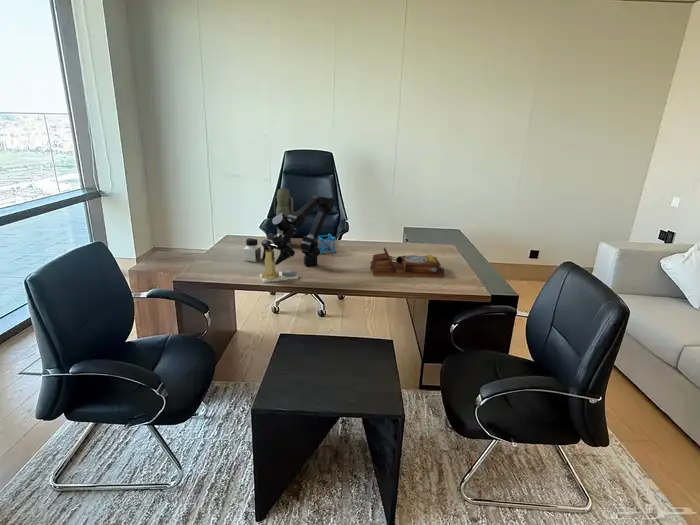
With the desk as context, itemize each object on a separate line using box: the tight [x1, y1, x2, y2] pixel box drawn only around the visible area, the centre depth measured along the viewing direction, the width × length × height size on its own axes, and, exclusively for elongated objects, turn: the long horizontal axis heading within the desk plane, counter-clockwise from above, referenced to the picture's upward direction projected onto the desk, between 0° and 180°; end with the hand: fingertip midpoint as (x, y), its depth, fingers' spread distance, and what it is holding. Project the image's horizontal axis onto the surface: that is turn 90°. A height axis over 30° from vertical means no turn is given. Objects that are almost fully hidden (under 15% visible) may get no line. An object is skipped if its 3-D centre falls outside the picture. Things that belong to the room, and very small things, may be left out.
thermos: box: [273, 187, 294, 247], centre depth 254 cm, size 9×12×35 cm
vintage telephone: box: [369, 247, 445, 278], centre depth 223 cm, size 24×12×40 cm
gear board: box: [259, 269, 299, 283], centre depth 205 cm, size 17×9×4 cm, turn 113°
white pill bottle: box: [243, 237, 262, 263], centre depth 228 cm, size 7×7×12 cm
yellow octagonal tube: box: [260, 249, 280, 280], centre depth 201 cm, size 8×8×13 cm
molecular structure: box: [317, 233, 337, 255], centre depth 248 cm, size 10×10×10 cm
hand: (268, 262), depth 200 cm, fingers open, 9 cm apart
